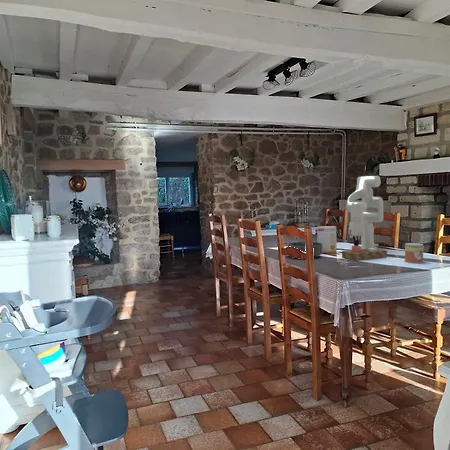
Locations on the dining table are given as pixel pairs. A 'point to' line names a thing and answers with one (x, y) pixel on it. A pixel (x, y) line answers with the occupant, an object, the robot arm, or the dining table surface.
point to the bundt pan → (301, 246)
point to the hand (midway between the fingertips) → (356, 245)
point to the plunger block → (364, 254)
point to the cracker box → (327, 238)
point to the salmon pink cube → (356, 248)
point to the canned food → (414, 253)
